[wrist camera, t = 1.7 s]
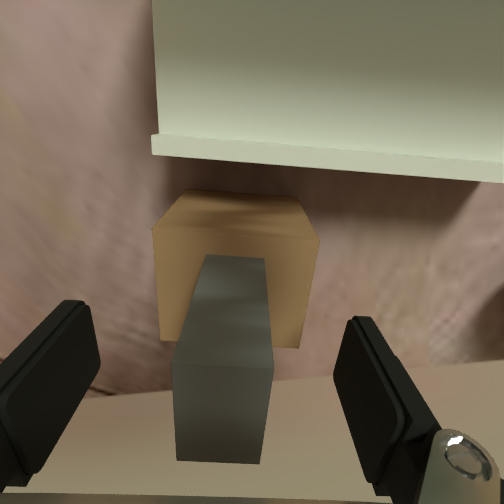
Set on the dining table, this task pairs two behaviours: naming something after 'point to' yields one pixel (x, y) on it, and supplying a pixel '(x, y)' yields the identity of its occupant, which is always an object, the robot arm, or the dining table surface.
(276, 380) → the dining table surface
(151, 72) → the dining table surface
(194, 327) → the tan grey tall block
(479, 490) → the robot arm
